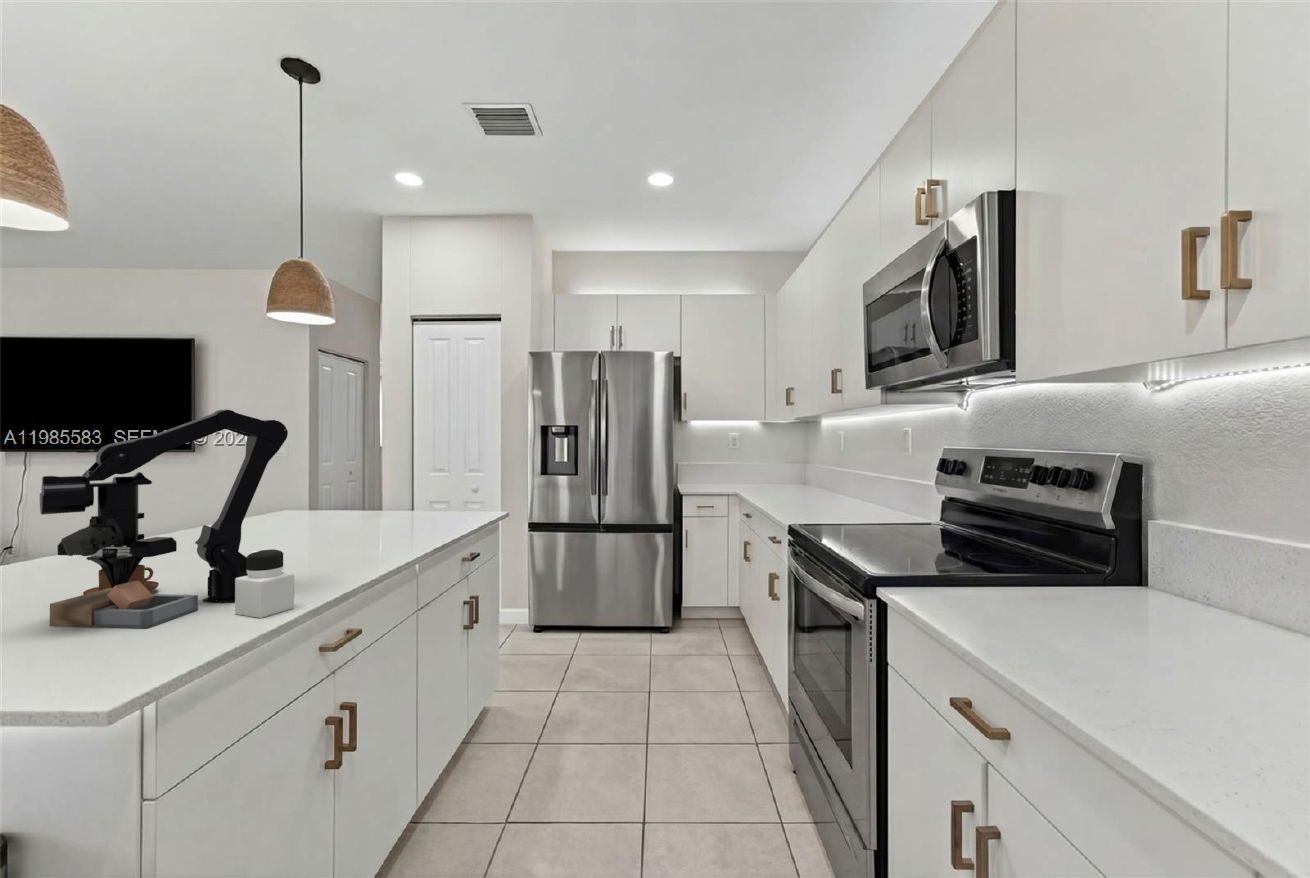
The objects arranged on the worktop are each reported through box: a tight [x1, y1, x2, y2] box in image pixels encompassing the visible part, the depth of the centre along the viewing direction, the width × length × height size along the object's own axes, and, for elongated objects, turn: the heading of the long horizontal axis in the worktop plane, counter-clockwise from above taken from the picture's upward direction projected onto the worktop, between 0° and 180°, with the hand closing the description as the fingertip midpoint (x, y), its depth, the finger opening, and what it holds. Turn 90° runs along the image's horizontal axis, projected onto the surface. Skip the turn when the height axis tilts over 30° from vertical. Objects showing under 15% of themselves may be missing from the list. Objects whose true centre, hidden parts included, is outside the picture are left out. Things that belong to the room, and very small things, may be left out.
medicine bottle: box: [234, 548, 295, 619], centre depth 116 cm, size 7×7×12 cm
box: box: [93, 593, 199, 630], centre depth 111 cm, size 10×11×3 cm
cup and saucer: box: [82, 564, 159, 595], centre depth 126 cm, size 12×12×6 cm
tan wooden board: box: [49, 588, 148, 628], centre depth 111 cm, size 8×11×4 cm
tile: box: [107, 580, 154, 609], centre depth 111 cm, size 4×4×2 cm
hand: (118, 591), depth 111 cm, fingers closed
